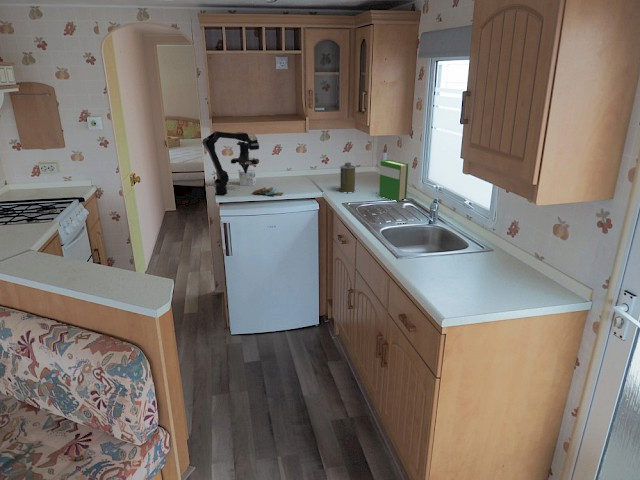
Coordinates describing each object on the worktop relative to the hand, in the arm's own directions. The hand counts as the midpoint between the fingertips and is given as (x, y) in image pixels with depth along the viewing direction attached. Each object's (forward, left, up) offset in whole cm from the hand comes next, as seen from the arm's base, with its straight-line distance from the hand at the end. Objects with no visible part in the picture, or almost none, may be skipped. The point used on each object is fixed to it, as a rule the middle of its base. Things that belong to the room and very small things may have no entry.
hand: (245, 173), depth 322 cm
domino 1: (+8, -8, -11) cm, 16 cm away
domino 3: (+20, -8, -12) cm, 25 cm away
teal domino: (+18, -9, -11) cm, 23 cm away
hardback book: (+102, -7, -12) cm, 103 cm away
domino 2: (+14, -8, -11) cm, 19 cm away
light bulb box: (-4, +15, -12) cm, 20 cm away
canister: (+71, +6, -12) cm, 72 cm away
